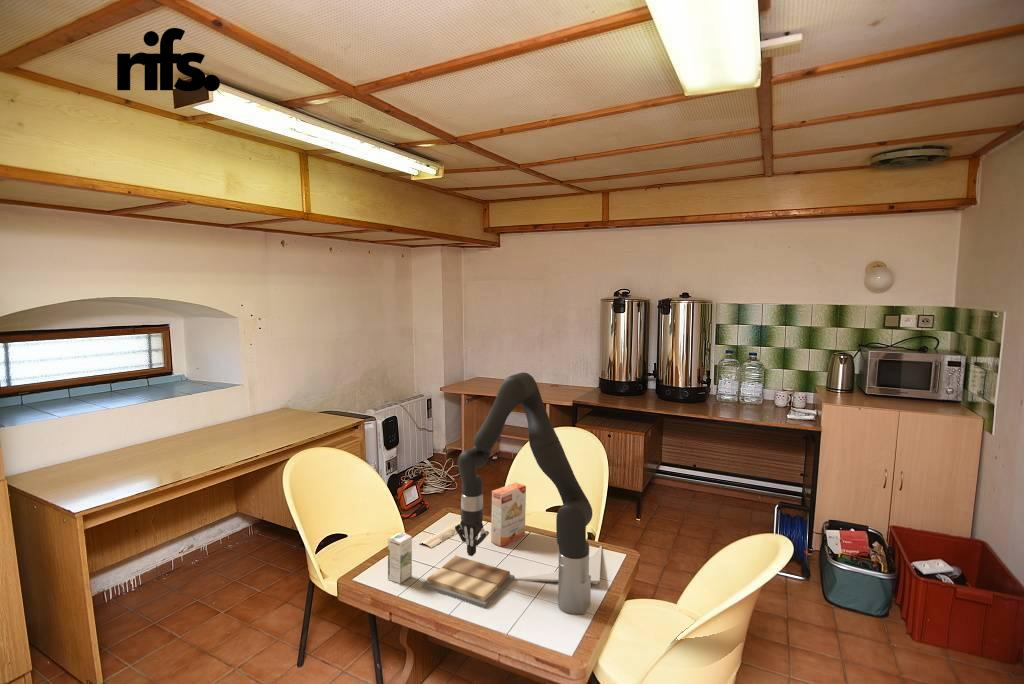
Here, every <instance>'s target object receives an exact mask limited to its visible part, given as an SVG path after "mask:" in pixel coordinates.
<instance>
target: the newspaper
mask: <svg viewBox="0 0 1024 684" xmlns="http://www.w3.org/2000/svg"><path fill="white" fill-rule="evenodd" d="M460 522H461V520H460V521H456V522H455V523H453V524H451V525H450V526H448V527H446V528H444V529H443V530H440V531H439V532H437V533H435V534H433V535H431V536H430V537H428V538H426V539H425V540H422V541H421V542H419V545H423V544H425V545H427V546H428V547H429V549H433V548H434V547H436V546H437V544H438V545H439V544H441V543H443V542H445V541H446V540H448V539H450V538H451V537H453V536H455V535H456V534H458V533H457V531H456V529H455V526H457V525H458V524H460ZM455 533H456V534H455ZM454 534H455V535H454ZM452 535H453V536H452ZM450 536H451V537H450ZM449 537H450V538H449ZM447 538H448V539H447ZM445 539H446V540H445ZM444 540H445V541H444ZM442 541H443V542H442ZM440 542H441V543H440ZM422 543H423V544H422ZM435 545H436V546H435ZM432 547H433V548H432Z"/></svg>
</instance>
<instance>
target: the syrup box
mask: <svg viewBox="0 0 1024 684" xmlns="http://www.w3.org/2000/svg"><path fill="white" fill-rule="evenodd" d="M412 542H413V538H412V535H409V534H407V533H403V532H398V533H396V534H394V535H392V536H391V537H389V538H387V580H389V581H391V582H394V583H396V582H397V584H399V585H401V584H402V583H404V582H406V581H407V580H408V579H410V578H411V577H412V575H413V574H412V573H413V572H412V571H413V568H412V567H413V566H412V564H413V562H412V561H413V560H412V555H413V550H412V549H413V543H412Z"/></svg>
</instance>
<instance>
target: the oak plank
mask: <svg viewBox="0 0 1024 684" xmlns="http://www.w3.org/2000/svg"><path fill="white" fill-rule="evenodd" d="M426 581H427V583H430V584H433V585H436V586H439V587H442V588H445V589H448V590H451V591H454V592H457V593H460V594H463V595H466V596H469V597H472V598H475V599H478V600H481V601H485V600H486V599H487V598H488V597H490V596H491V595H492V594H493V593H494V592H495V591H496V590H497V584H495V583H491V582H488V581H485V580H482V579H479V578H475V577H472V576H469V575H466V574H463V573H459V572H456V571H453V570H450V569H447V568H443V566H441V567H440V568H438V569H437V570H436V571H435V572H433V573H432V574H430V575H429V576H428V577H427V578H426Z"/></svg>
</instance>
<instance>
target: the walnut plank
mask: <svg viewBox="0 0 1024 684" xmlns="http://www.w3.org/2000/svg"><path fill="white" fill-rule="evenodd" d="M442 567H443V568H447V569H450V570H453V571H456V572H459V573H463V574H466V575H469V576H472V577H475V578H479V579H482V580H485V581H488V582H491V583H495V584H497V588H499V587H500V585H501V584H502V583H503V582H504V581H505V580H506V579H507V578H508V577H509V576H510V575H511V571H510V570H507V569H506V570H505V569H502V568H500V567H497V566H492V565H489V564H486V563H482V562H480V561H475V560H472V559H469V558H465V557H463V556H460V555H455V556H453V557H452V558H451V559H450V560H449V561H447V562H446V563H445V564H443V565H442Z"/></svg>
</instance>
